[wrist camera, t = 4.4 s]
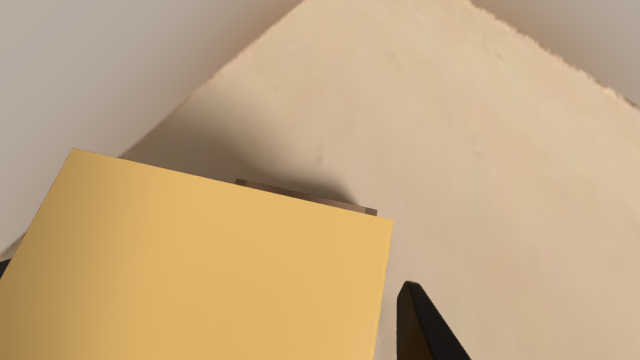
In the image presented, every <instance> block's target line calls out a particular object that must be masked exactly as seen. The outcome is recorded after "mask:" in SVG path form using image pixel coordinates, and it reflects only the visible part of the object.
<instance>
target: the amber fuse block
mask: <svg viewBox="0 0 640 360" xmlns="http://www.w3.org/2000/svg"><path fill="white" fill-rule="evenodd" d="M393 222H394V220H390V219H386V218H381V217H377V216H372V215H368V214H363V213H359V212H355V211H350V210H346V209H341V208H337V207H332V206H328V205H324V204H319V203H315V202H310V201H306V200H301V199H297V198H293V197H288V196H284V195H279V194H275V193H271V192H266V191H262V190H257V189H253V188H248V187H244V186H240V185H235V184H231V183H226V182H222V181H217V180H213V179H209V178H204V177H200V176H195V175H191V174H186V173H182V172H178V171H173V170H169V169H164V168H160V167H156V166H151V165H147V164H142V163H138V162H133V161H129V160H125V159H120V158H116V157H111V156H106V155H102V154H98V153H94V152H89V151H85V150H80V149H76V148H72V150H71V152H70V154H69V156H68V158H67V159H66V161H65V163H64V165H63V167H62V168H61V170H60V172H59V174H58V176H57V178H56V179H55V181H54V183H53V185H52V187H51V188H50V190H49V192H48V194H47V196H46V198H45V199H44V201H43V203H42V205H41V207H40V208H39V210H38V212H37V214H36V216H35V218H34V219H33V221H32V223H31V225H30V226H29V228H28V230H27V232H26V234H25V235H24V237H23V239H22V241H21V243H20V245H19V246H18V248H17V250H16V252H15V254H14V255H13V257H12V259H11V261H10V263H9V265H8V266H7V268H6V270H5V272H4V274H3V275H2V277H1V279H0V360H373V357H374V351H375V344H376V337H377V330H378V324H379V317H380V310H381V303H382V297H383V290H384V283H385V276H386V270H387V263H388V256H389V249H390V243H391V236H392V229H393Z"/></svg>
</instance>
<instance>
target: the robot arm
mask: <svg viewBox="0 0 640 360" xmlns="http://www.w3.org/2000/svg"><path fill="white" fill-rule="evenodd" d="M11 259H12V258H11ZM11 259H8V260H5V261H2V262H0V279H1V277H2V275H3V274H4V272H5V270H6V268H7V266H8V265H9V263H10V261H11ZM397 360H471V358H470V357H469V355H468V354H467V353H466V351H465V350H464V348H463V347H462V345H461V344H460V342H459V341H458V339H457V338H456V336H455V335H454V333H453V332H452V331H451V329H450V328H449V326H448V325H447V323H446V322H445V320H444V319H443V317H442V316H441V314H440V313H439V312H438V310H437V309H436V307H435V306H434V304H433V303H432V301H431V300H430V298H429V297H428V295H427V294H426V292H425V291H424V290H423V288H422V287H421V285H420V284H418V283H416V282H412V281H405V283H404V284H403V286H402V288H401V290H400V292H399V294H398V297H397Z"/></svg>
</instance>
